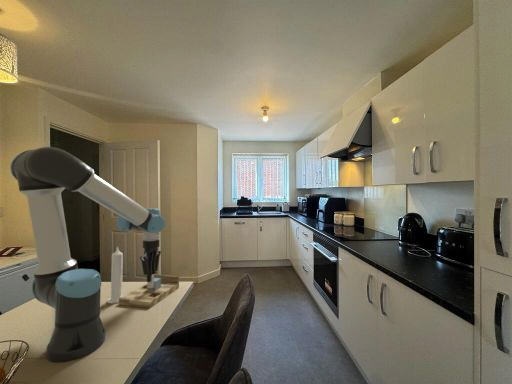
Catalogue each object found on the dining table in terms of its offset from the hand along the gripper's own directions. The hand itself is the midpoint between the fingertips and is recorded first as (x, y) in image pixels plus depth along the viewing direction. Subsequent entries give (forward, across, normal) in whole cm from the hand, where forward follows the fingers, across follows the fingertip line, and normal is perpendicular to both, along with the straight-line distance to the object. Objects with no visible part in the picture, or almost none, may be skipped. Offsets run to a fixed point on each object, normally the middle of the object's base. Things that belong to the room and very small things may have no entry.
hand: (150, 287), depth 114 cm
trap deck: (+4, +1, 0) cm, 4 cm away
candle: (+4, -8, +12) cm, 15 cm away
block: (+2, +3, 0) cm, 3 cm away
